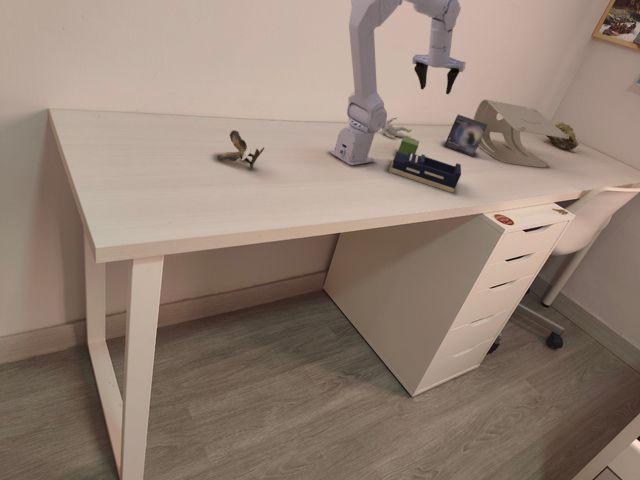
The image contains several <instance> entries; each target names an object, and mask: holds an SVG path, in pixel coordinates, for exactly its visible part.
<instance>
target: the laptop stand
mask: <svg viewBox="0 0 640 480" xmlns="http://www.w3.org/2000/svg"><path fill="white" fill-rule="evenodd" d="M498 115H500V116H501V119H498V118H497V117H498ZM472 119H473V120H476V121H479V122H481V123H484V124H487V127H486V130H485V132H484V134H483V136H482V138H481V141H480V143H479V145H478V147H479V148H480V149H481V150H482V151H484V152H485V153H486V154H489V155H490V156H491V157H493V158H494V159H495V160H498V161H500V162H503V163H506V164H507V163H508V164H512V165H513V164H514V165H519V166H525V167H535V168H546V167H547V164H546V163H545V162H544V161H542V160H540V159H539V158H537V157H535V156H534V155H532V154H531V153H530V152H529V150H527V149H526V148H525V146H524V145H523V143H522V141H521V132H522V133H523V132H524V133H527V134H528V133H529V134H534V135H541V136H546V135H547V136H553V137H559V138H565V139H569V136H570V135H569V134H564V133H563V132H562V131H561V130H560V129H558V128H557V127H556V126H555V125H556V124H554V123H552V122H551V120H549V119H548V118H547V117H546V116H545V115H544V114H542V113H541V112H539V111H538V110H537V109H536V108H533V107H528V106H527V107H526V106H522V105H517V104H511V103H507V102H502V101H497V100H496V101H495V100H491V99H483V100H481V101H480V103H479V104H478V106H477V109H476V111H475V113H474V116H473V118H472ZM491 133H498V134H501V135H502V136H503V139H504V142H505V143H506V145H507V146H508V147H507V146H505V145H504V144H502V143H500V142H499V141H496V140H495V141H494V140H492V138H491V136H490V134H491ZM547 136H546V137H547Z"/></svg>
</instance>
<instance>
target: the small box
mask: <svg viewBox="0 0 640 480" xmlns="http://www.w3.org/2000/svg"><path fill="white" fill-rule="evenodd" d="M473 119H474V118H470V117H467V116H464V115H462V114H457V115H456V117H455V119H454V122H453V123H452V126H451V129H450V131H449V133H448V136H447V138H446V141H445V143H444V145H443V146H444V147H445V148H447V149H450V150H453V151H456V152H459V153H461V154H464V155H467V156H470V157H472V158H474V156H475V153H476V151H477V149H478V147H479V143H480V141H481V138H482V136H483V134H484V132H485V130H486V127H487V124H484V123H481V122H479V121H476V120H473Z"/></svg>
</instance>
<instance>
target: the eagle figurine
mask: <svg viewBox="0 0 640 480" xmlns="http://www.w3.org/2000/svg"><path fill="white" fill-rule="evenodd" d="M229 138H230V141H231V143H232V144H233V146H234V147H235V148H236V149H237V150H238V151H226V152H224V153H221V154H218V155H217V156H216V158H217V160H219V161H223V160H224V161H225V160H228V161H231V162H236V161H238V160H239V159H240V160H241V161H242V162H243V161H245V162H246V163H248V164H249V167H250V170H253V168H254V164H255V162H256V161H257V159H258V158H259V156H260V155H262V153H263V152H264V150H265V147H264V146H263V147H262V148H261V149H260V150H259V149H258V148H256V149H255V151H254V154H253V153H252V152H251V148H248V146H247V143H246V141H245V140H244V139H242V136H241V135H240V132H239V131H238V130H234V129H233V130H231V132H230V134H229ZM248 157H251V160H250V159H249V158H248Z"/></svg>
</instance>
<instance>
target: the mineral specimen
mask: <svg viewBox="0 0 640 480" xmlns="http://www.w3.org/2000/svg"><path fill="white" fill-rule="evenodd" d="M554 125H555V126H556V127H557V128H558V129H560V130H561V131H562V132H563V133H564V134H569V135H570V136H569V139H565V138H559V137H553V136H547V135H545V136H546V137H547V139H548V140H549V141H550V142H551V143H553V144H554V145H555V146H556V147H557V148H560V149H565V150H574V149H576V148H577V147H578V146H579V145H580V143H578V141H577V139H576V134H575V132H574V129H573V128H572V127H571V126H570V125H568V124H566V123H564V122H563V121H561V122H558V124H554Z"/></svg>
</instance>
